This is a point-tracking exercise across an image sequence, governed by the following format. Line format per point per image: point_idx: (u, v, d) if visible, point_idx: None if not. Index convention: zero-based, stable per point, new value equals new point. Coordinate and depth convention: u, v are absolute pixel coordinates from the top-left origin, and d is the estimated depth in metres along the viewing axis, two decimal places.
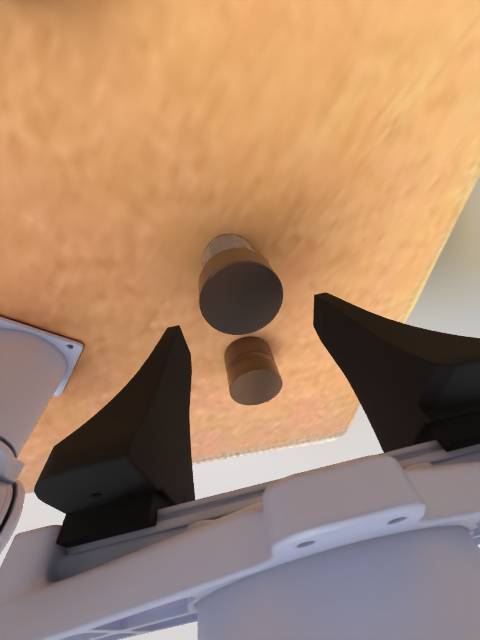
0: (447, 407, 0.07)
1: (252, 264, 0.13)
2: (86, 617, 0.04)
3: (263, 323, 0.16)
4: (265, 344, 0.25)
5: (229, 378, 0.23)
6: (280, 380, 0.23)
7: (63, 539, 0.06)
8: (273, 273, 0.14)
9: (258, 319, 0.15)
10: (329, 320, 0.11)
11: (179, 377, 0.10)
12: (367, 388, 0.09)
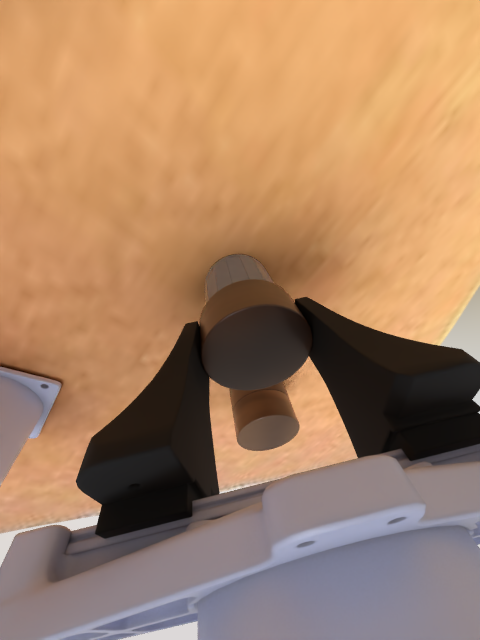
0: (412, 416, 0.06)
1: (275, 308, 0.09)
2: (86, 617, 0.04)
3: (284, 376, 0.12)
4: None
5: (236, 421, 0.19)
6: (297, 424, 0.19)
7: (101, 530, 0.06)
8: (302, 318, 0.10)
9: (278, 372, 0.12)
10: None
11: (200, 372, 0.10)
12: (342, 394, 0.09)
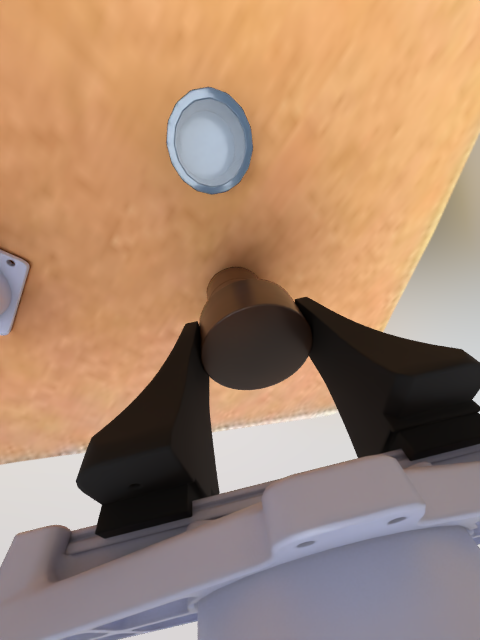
0: (412, 416, 0.06)
1: (275, 307, 0.09)
2: (86, 617, 0.04)
3: (284, 376, 0.12)
4: (255, 276, 0.21)
5: None
6: None
7: (101, 530, 0.06)
8: (302, 318, 0.10)
9: (278, 372, 0.12)
10: None
11: (200, 372, 0.10)
12: (342, 394, 0.09)
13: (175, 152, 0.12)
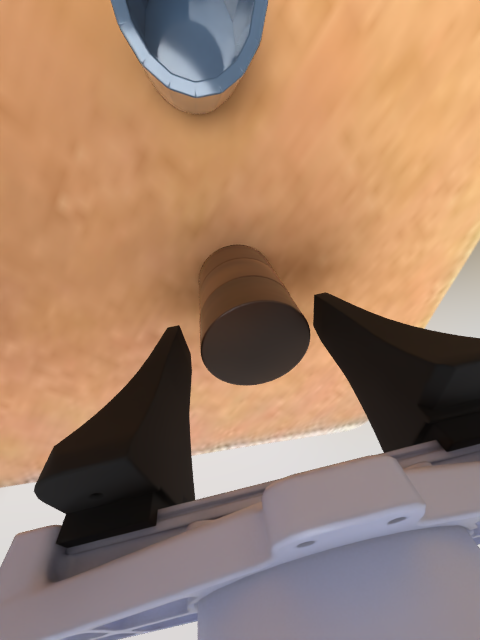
0: (447, 407, 0.07)
1: (273, 303, 0.10)
2: (86, 617, 0.04)
3: (283, 371, 0.12)
4: (264, 257, 0.15)
5: (200, 302, 0.13)
6: None
7: (63, 539, 0.06)
8: (299, 314, 0.10)
9: (276, 367, 0.12)
10: (329, 320, 0.11)
11: (179, 377, 0.10)
12: (367, 388, 0.09)
13: None
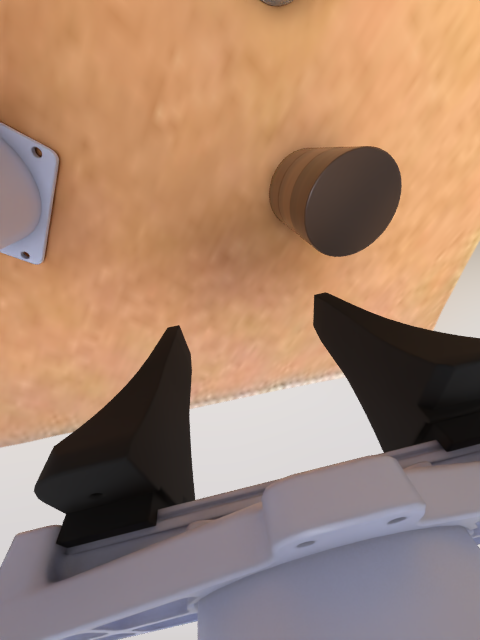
0: (447, 407, 0.07)
1: (374, 150, 0.11)
2: (86, 617, 0.04)
3: (371, 239, 0.13)
4: None
5: (286, 190, 0.14)
6: None
7: (63, 539, 0.06)
8: (395, 163, 0.11)
9: (366, 233, 0.13)
10: (329, 320, 0.11)
11: (179, 377, 0.10)
12: (367, 388, 0.09)
13: None
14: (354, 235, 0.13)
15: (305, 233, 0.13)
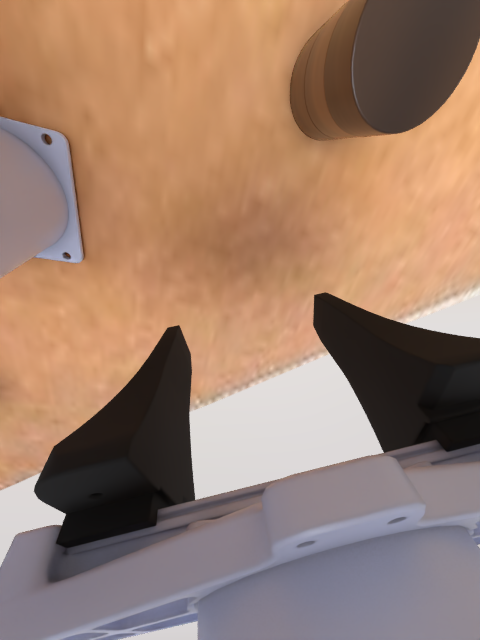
0: (447, 407, 0.07)
1: None
2: (86, 617, 0.04)
3: (449, 88, 0.10)
4: None
5: (314, 77, 0.12)
6: None
7: (63, 539, 0.06)
8: None
9: (441, 82, 0.10)
10: (329, 320, 0.11)
11: (179, 377, 0.10)
12: (367, 388, 0.09)
13: None
14: (424, 90, 0.10)
15: (355, 110, 0.10)
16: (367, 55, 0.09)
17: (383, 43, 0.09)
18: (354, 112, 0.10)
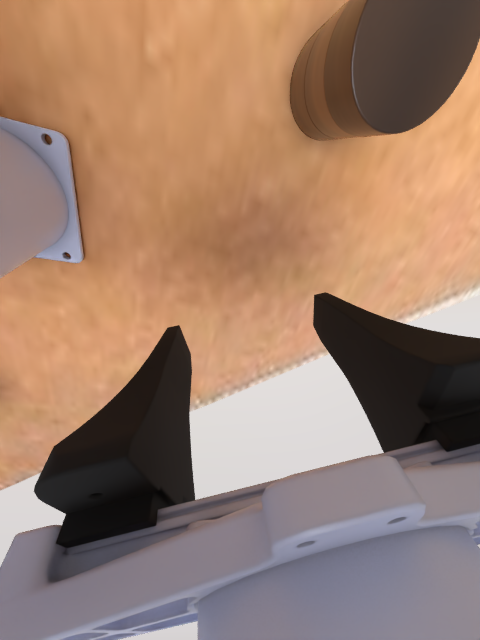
0: (447, 407, 0.07)
1: None
2: (86, 617, 0.04)
3: (449, 88, 0.10)
4: None
5: (314, 77, 0.12)
6: None
7: (63, 539, 0.06)
8: None
9: (441, 82, 0.10)
10: (329, 320, 0.11)
11: (179, 377, 0.10)
12: (367, 388, 0.09)
13: None
14: (424, 90, 0.10)
15: (355, 110, 0.10)
16: (367, 55, 0.09)
17: (383, 43, 0.09)
18: (354, 112, 0.10)
